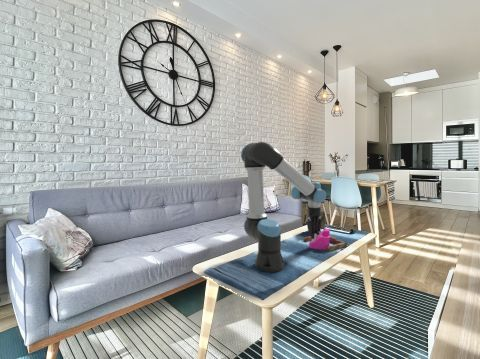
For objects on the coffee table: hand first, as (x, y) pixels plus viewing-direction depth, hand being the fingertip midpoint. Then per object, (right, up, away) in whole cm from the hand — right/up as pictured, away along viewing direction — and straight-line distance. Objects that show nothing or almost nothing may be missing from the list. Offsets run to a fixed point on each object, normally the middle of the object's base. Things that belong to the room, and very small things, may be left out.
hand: (314, 243), depth 158 cm
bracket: (+4, -2, 0) cm, 4 cm away
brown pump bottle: (+10, 0, +29) cm, 30 cm away
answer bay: (+8, -1, +4) cm, 9 cm away
